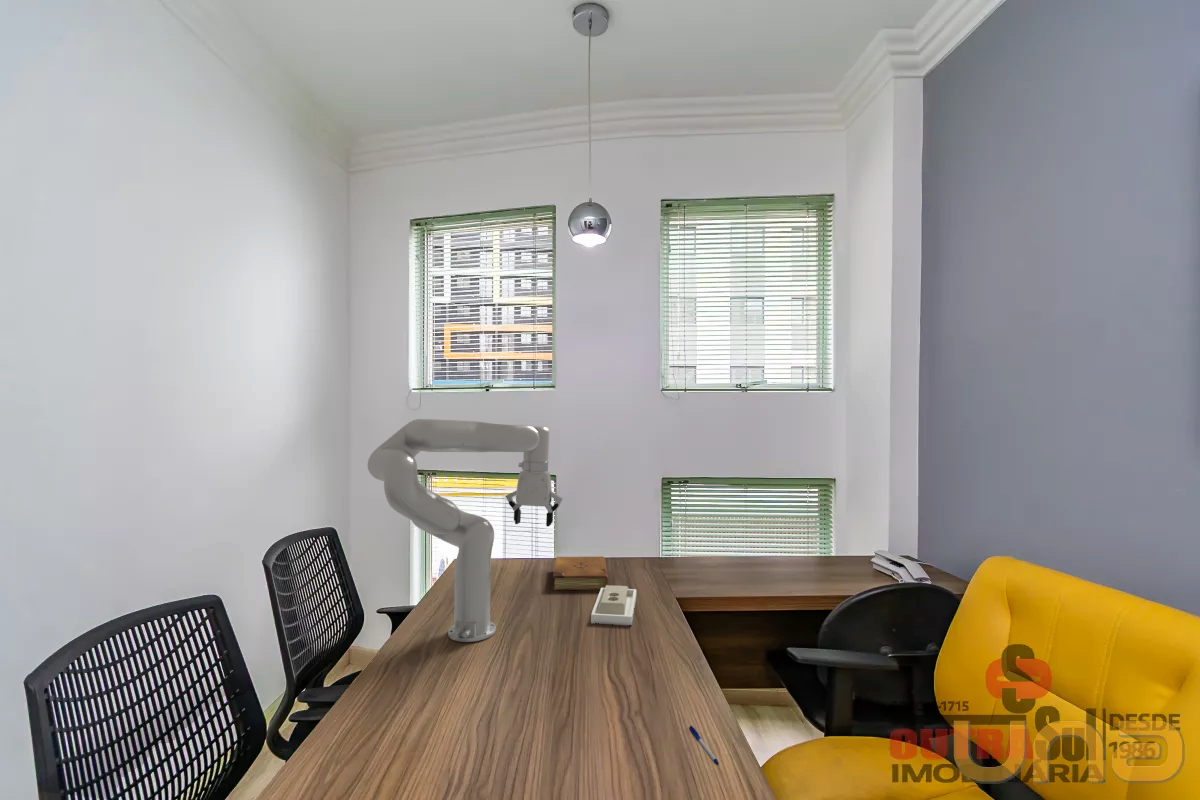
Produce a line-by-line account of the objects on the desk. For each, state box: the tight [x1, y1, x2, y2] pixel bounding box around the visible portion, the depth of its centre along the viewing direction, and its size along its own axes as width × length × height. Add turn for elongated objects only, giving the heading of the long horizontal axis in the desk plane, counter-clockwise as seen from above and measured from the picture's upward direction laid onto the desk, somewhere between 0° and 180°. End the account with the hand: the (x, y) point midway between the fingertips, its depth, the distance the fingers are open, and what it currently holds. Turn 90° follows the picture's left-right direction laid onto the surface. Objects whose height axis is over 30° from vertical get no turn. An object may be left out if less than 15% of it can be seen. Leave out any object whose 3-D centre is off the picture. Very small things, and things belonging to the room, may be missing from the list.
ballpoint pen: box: [688, 724, 719, 765], centre depth 92 cm, size 10×1×1 cm, turn 18°
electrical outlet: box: [600, 584, 629, 615], centre depth 157 cm, size 7×4×18 cm
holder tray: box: [590, 588, 637, 626], centre depth 156 cm, size 23×12×2 cm, turn 173°
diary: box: [552, 556, 609, 591], centre depth 184 cm, size 23×19×6 cm
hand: (533, 524), depth 153 cm, fingers open, 9 cm apart
